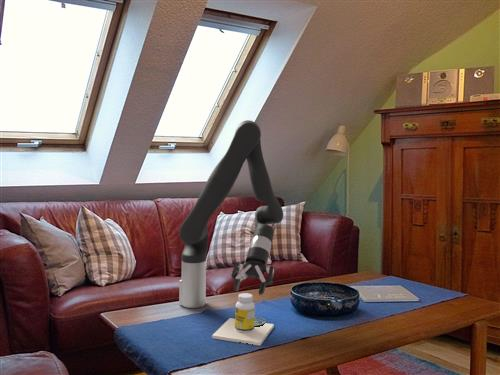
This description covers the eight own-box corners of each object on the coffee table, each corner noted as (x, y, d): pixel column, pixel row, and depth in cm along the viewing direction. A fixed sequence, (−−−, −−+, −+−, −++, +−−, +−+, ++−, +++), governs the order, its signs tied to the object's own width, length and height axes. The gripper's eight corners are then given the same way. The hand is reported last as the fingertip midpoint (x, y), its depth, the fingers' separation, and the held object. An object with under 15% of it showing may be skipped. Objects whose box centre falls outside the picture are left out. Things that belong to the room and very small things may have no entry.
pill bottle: (232, 326, 163) (232, 293, 162) (250, 324, 165) (251, 291, 164) (238, 334, 157) (239, 299, 156) (257, 331, 159) (258, 297, 158)
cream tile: (212, 338, 156) (212, 335, 156) (229, 320, 171) (229, 318, 171) (260, 345, 151) (260, 342, 151) (273, 327, 166) (273, 324, 166)
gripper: (237, 244, 173) (225, 284, 163) (276, 247, 168) (266, 289, 159) (242, 255, 178) (230, 295, 169) (280, 259, 174) (270, 300, 164)
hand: (247, 292), depth 164 cm, fingers open, 8 cm apart
